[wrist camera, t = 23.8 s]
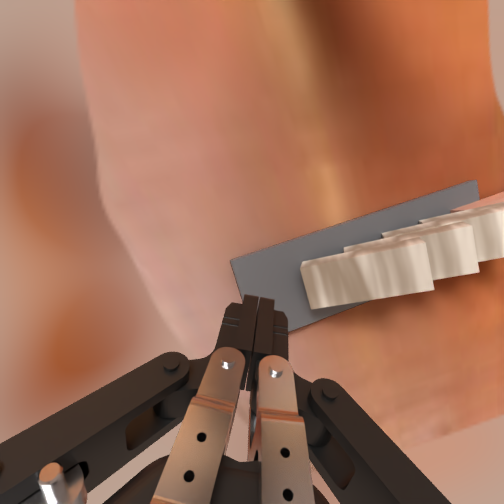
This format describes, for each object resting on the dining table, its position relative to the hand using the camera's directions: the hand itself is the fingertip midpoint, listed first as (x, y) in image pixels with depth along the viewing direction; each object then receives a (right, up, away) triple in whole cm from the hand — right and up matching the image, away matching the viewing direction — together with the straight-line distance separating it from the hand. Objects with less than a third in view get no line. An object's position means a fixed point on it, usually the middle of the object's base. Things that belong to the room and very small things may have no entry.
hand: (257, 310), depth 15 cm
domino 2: (+11, +1, +20) cm, 22 cm away
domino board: (+14, +2, +22) cm, 26 cm away
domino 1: (+6, -1, +19) cm, 20 cm away
